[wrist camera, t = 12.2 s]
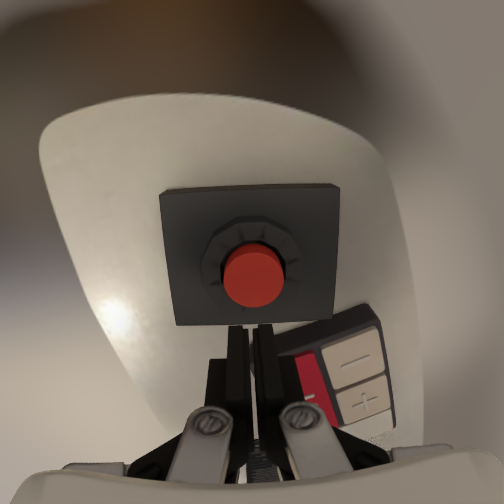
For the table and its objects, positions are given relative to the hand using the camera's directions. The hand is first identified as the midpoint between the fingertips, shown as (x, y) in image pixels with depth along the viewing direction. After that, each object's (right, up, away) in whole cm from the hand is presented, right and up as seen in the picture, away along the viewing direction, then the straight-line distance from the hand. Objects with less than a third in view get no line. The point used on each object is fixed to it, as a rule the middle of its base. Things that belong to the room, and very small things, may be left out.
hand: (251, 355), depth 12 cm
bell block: (0, +4, +12) cm, 13 cm away
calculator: (+7, -8, +17) cm, 20 cm away
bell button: (0, +3, +8) cm, 9 cm away
